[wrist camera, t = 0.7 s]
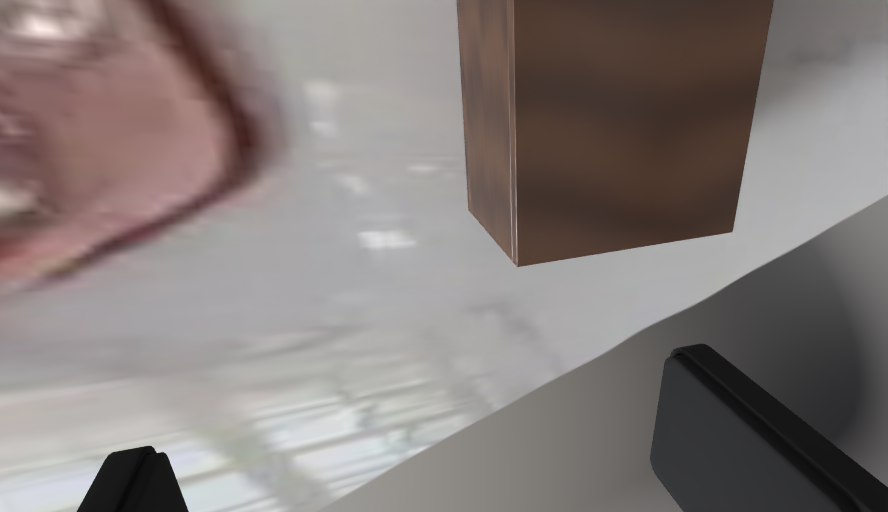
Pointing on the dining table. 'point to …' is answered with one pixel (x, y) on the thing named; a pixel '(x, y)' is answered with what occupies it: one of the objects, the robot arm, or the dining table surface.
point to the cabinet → (607, 119)
